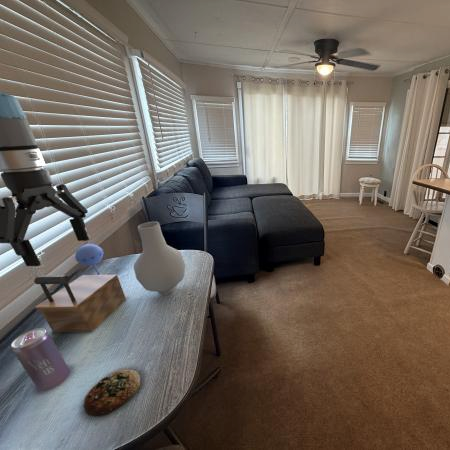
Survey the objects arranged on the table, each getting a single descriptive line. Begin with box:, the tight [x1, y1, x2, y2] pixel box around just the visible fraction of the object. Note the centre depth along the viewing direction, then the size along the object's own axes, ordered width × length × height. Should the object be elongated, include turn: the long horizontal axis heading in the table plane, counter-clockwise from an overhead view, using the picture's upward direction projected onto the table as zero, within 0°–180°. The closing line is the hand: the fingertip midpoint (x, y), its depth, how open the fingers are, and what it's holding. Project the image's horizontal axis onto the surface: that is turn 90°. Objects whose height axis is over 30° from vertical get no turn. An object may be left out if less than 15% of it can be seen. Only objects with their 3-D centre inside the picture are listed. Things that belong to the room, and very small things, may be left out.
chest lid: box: [33, 274, 118, 310], centre depth 76 cm, size 17×13×10 cm
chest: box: [39, 276, 127, 333], centre depth 80 cm, size 16×13×11 cm
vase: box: [133, 221, 186, 296], centre depth 90 cm, size 17×16×28 cm
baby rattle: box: [74, 243, 104, 275], centre depth 97 cm, size 9×9×18 cm
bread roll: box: [83, 369, 141, 418], centre depth 57 cm, size 11×11×5 cm
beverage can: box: [10, 327, 71, 392], centre depth 58 cm, size 6×6×15 cm
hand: (61, 251), depth 62 cm, fingers open, 13 cm apart
